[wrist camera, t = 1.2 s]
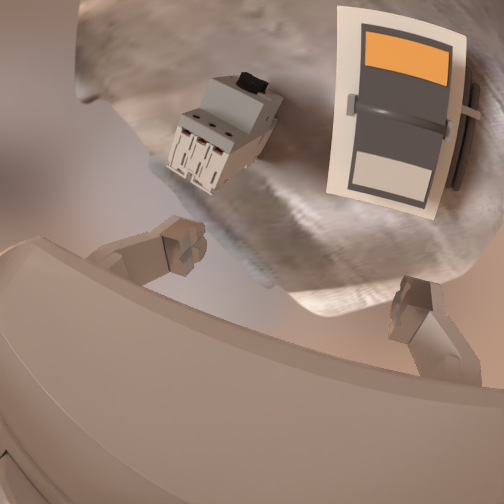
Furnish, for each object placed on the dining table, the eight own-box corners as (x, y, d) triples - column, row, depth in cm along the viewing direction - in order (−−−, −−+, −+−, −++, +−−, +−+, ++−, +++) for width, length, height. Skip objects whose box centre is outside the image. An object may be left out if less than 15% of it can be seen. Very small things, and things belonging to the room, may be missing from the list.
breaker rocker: (359, 25, 19) (359, 22, 18) (451, 47, 16) (455, 46, 15) (346, 184, 32) (345, 189, 31) (424, 204, 28) (426, 210, 27)
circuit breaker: (296, 87, 34) (257, 94, 24) (257, 159, 44) (211, 197, 34) (253, 65, 34) (197, 67, 24) (221, 137, 44) (165, 168, 34)
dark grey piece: (461, 65, 21) (465, 65, 20) (480, 73, 20) (485, 73, 19) (441, 184, 33) (443, 189, 32) (458, 190, 32) (461, 195, 31)
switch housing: (342, 15, 25) (332, -2, 18) (453, 41, 19) (475, 33, 13) (332, 177, 41) (321, 203, 34) (427, 201, 36) (437, 234, 29)
